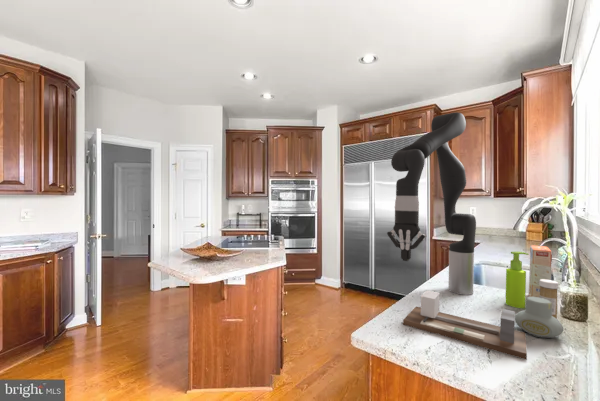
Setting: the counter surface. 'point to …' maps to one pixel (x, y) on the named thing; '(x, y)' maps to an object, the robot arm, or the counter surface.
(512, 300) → the soap dispenser
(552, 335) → the air freshener
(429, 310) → the block
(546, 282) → the sprinkles bottle
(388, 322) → the counter surface
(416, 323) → the base
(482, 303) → the counter surface
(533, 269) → the cracker box
